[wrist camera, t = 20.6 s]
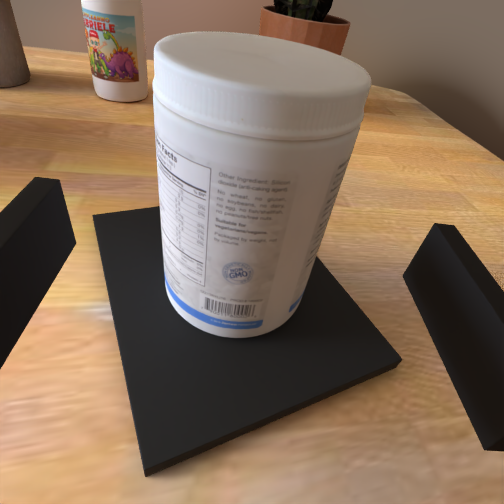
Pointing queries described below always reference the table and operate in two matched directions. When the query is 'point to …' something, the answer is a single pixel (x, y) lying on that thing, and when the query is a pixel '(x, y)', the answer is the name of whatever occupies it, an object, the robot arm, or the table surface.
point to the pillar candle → (11, 50)
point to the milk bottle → (116, 48)
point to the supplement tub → (248, 171)
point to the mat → (222, 351)
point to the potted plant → (304, 24)
